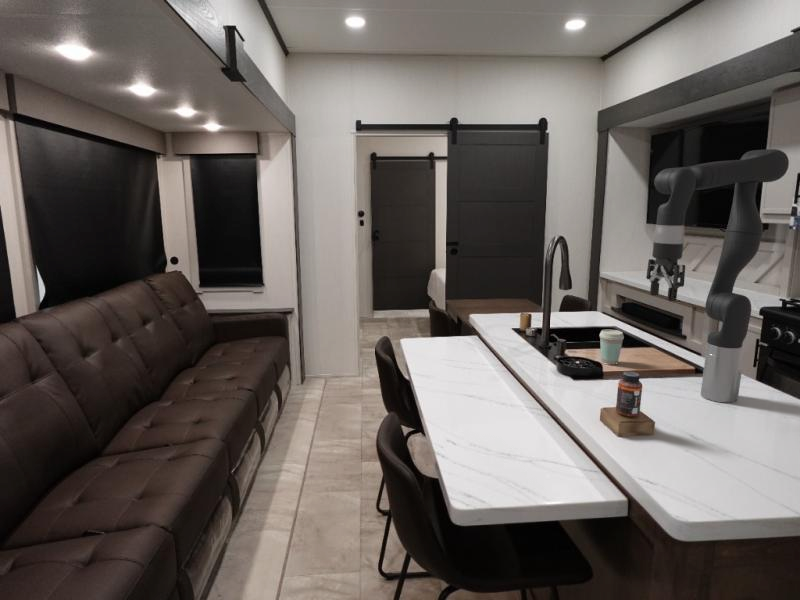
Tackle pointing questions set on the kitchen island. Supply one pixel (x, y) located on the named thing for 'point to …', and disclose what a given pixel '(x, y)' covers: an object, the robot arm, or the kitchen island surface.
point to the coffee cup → (610, 345)
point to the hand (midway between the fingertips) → (662, 298)
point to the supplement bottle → (629, 395)
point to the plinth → (626, 423)
